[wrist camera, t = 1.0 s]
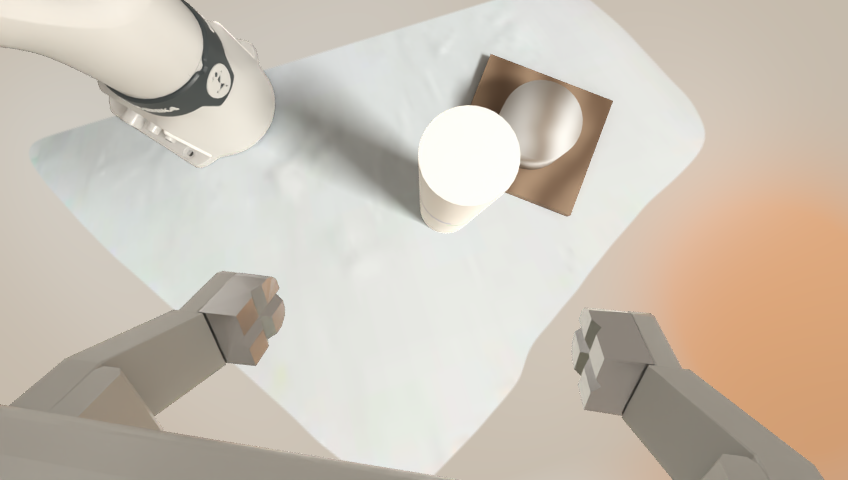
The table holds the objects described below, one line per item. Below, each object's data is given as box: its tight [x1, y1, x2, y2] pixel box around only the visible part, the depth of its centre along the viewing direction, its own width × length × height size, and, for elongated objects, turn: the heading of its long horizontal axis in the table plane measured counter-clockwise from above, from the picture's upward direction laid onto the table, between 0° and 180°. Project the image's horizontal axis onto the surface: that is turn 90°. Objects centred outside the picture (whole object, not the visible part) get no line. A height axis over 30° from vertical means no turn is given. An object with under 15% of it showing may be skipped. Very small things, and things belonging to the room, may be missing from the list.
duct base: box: [471, 54, 613, 216], centre depth 48 cm, size 18×17×6 cm
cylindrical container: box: [418, 105, 520, 233], centre depth 38 cm, size 7×7×25 cm
